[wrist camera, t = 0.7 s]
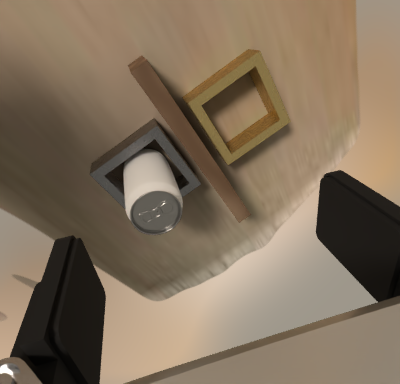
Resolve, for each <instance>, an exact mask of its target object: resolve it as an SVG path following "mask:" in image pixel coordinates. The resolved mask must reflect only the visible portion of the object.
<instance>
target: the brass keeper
mask: <svg viewBox="0 0 400 384" xmlns="http://www.w3.org/2000/svg"><path fill="white" fill-rule="evenodd" d="M247 72H249V74H250V76H251V78H252V80H253V82H254V84H255V86H256V88H257V91H258V93H259V95H260V97H261V99H262V101H263V103H264V105H265V107H266V109H267V111H268V114H267V115H266V116H264V117H263V118H261V119H260V120H259V121H257V122H256V123H254V124H253V125H251V126H250V127H249V128H247V129H246V130H244V131H243V132H242V133H240V134H239V135H237V136H236V137H234V138H233V139H232V140H230V141H229V142H227V143H226V144H225V143H224V142H223V140H222V138H221V137H220V135H219V134H218V132H217V130H216V129H215V127H214V125H213V124H212V122H211V121H210V119H209V117H208V116H207V114H206V113H205V111H204V109H203V108H202V106H201V105H203V104H204V103H205V102H207V101H208V100H210V99H211V98H212V97H214V96H215V95H217V94H218V93H219V92H221V91H222V90H223V89H225V88H226V87H228V86H229V85H230V84H232V83H233V82H234V81H236V80H237V79H239V78H240V77H241V76H243V75H244V74H246V73H247ZM182 98H183V100H184V101H185V103H186V104H187V106H188V107H189V109H190V110H191V112H192V113H193V115H194V117H195V118H196V120H197V121H198V123H199V124H200V126H201V127H202V129H203V130H204V132H205V133H206V135H207V137H208V138H209V140H210V141H211V143H212V144H213V146H214V147H215V149H216V150H217V152H218V153H219V155H220V156H221V158H222V159H223V160H224V161H225V162H226V164H227V165H229V164H231V163H232V162H234V161H235V160H237V159H238V158H239V157H241V156H242V155H244V154H245V153H247V152H248V151H249V150H251V149H252V148H254V147H255V146H257V145H258V144H259V143H261V142H262V141H264V140H265V139H267V138H268V137H270V136H271V135H272V134H274V133H275V132H277V131H278V130H280V129H281V128H282V127H284V126H285V125H287V124H288V123H290V122H291V121H290V119H289V116H288V114H287V112H286V110H285V107H284V105H283V103H282V100H281V98H280V96H279V93H278V91H277V89H276V87H275V84H274V82H273V80H272V77H271V75H270V73H269V70H268V68H267V66H266V64H265V61H264V59H263V57H262V54H261V52H260V51H258V50H250V49H248V50H247V51H245V52H244V53H242V54H241V55H240V56H238V57H237V58H236V59H234V60H233V61H231V62H230V63H229V64H227V65H226V66H225V67H223V68H222V69H221V70H219V71H218V72H216V73H215V74H214V75H212V76H211V77H210V78H208V79H207V80H205V81H204V82H203V83H201V84H200V85H199V86H197V87H196V88H195V89H193V90H192V91H190V92H189V93H188V94H186V95H185V96H184V97H182Z"/></svg>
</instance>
